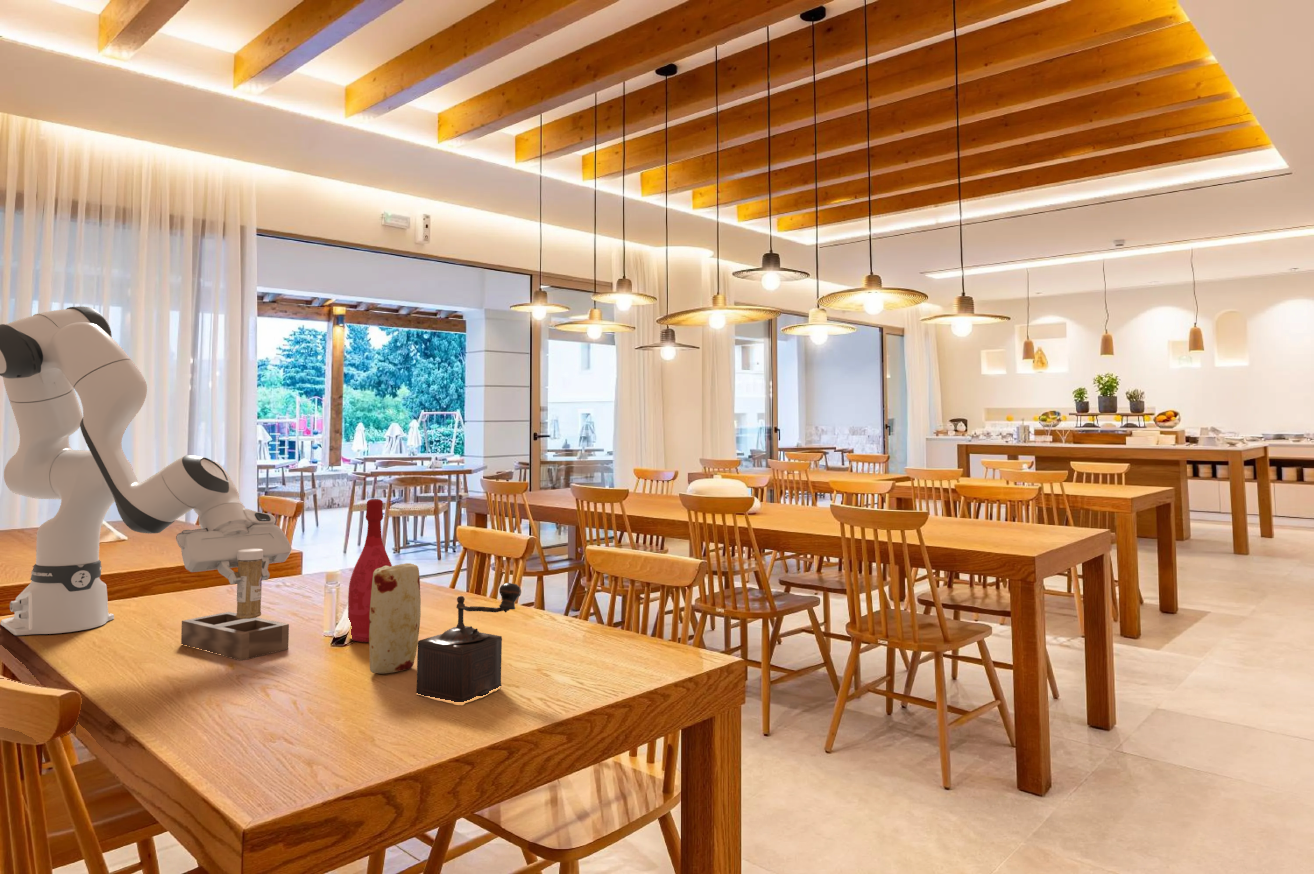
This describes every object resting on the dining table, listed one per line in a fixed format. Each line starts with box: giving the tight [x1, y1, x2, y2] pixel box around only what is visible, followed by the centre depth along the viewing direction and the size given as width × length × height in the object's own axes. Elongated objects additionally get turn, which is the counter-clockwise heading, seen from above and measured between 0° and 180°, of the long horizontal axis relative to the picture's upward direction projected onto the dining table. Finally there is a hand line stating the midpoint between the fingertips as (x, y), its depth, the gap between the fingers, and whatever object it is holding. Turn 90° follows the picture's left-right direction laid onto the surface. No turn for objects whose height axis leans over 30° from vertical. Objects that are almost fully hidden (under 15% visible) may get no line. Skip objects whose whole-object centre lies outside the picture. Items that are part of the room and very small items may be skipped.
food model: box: [368, 562, 422, 675], centre depth 144 cm, size 10×7×20 cm
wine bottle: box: [347, 498, 393, 643], centre depth 167 cm, size 10×10×30 cm
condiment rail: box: [180, 611, 290, 661], centre depth 157 cm, size 20×10×5 cm, turn 61°
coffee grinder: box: [415, 582, 522, 702], centre depth 135 cm, size 16×11×18 cm
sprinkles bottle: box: [236, 549, 263, 619], centre depth 155 cm, size 5×5×13 cm
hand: (250, 580), depth 154 cm, fingers closed on sprinkles bottle, 4 cm apart
